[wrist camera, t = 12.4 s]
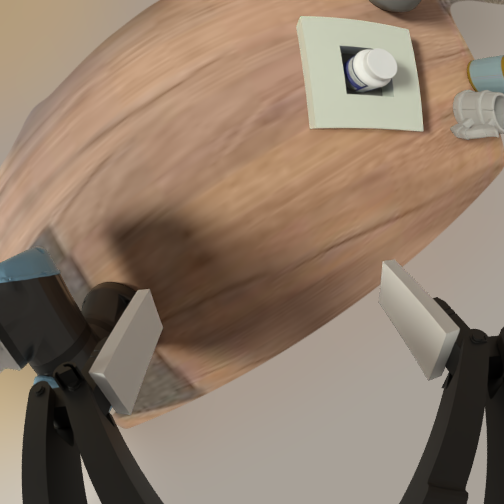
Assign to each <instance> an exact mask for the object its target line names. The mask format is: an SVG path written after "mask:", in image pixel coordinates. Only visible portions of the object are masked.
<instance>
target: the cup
mask: <svg viewBox="0 0 504 504" xmlns="http://www.w3.org/2000/svg"><path fill="white" fill-rule="evenodd" d="M369 1H370V2H371V3H373V4H374V5H375V6H377V7H379V8H381V9H384V10H387V11H394V12H408V11H410V10H412V9H414V8H415V7H416V6H417V5H418V4H419V2H420V1H421V0H369Z"/></svg>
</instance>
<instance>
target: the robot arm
mask: <svg viewBox="0 0 504 504" xmlns="http://www.w3.org/2000/svg"><path fill="white" fill-rule="evenodd" d="M60 273H61V272H60V270H58V269H57V267H56V265H55V263H54V262H53V260H52V258H51V256H50V254H49V252H48V251H47V250H46V249H45V248H43V247H40V246H37V247H33V248H31V249H29V250H26V251H24V252H22V253H20V254H18V255H16V256H13V257H11V258H9V259H7V260H5V261H3V262H1V263H0V373H1V372H2V371H3V370H4V369H13V370H19V371H20V370H21V369H22V368H23V367H24V366H25V365H26V364H27V363H29V364H30V366H31V367H32V368H33V369H34V371H35V372H36V373H37V375H38V376H37V377H35V379H34V385H33V386H32V388H31V389H30V392H29V397H28V404H27V410H26V418H25V425H24V435H23V436H24V437H23V449H22V497H23V504H87V499H86V493H85V488H84V481H83V474H82V467H81V459H80V454H81V457H82V459H83V462H84V465H85V467H86V470H87V472H88V474H89V477H90V479H91V481H92V484H93V486H94V488H95V490H96V492H97V495H98V497H99V499H100V501H101V503H102V504H164V503H163V502H162V501H161V499H160V498H159V497H158V495H157V494H156V492H155V491H154V490H153V488H152V486H151V485H150V483H149V482H148V480H147V479H146V477H145V475H144V474H143V472H142V471H141V469H140V467H139V466H138V464H137V462H136V461H135V459H134V457H133V456H132V454H131V452H130V450H129V448H128V447H127V445H126V443H125V441H124V439H123V437H122V435H121V433H120V432H119V429H118V427H117V425H116V423H115V421H114V419H113V417H112V415H111V414H110V413H109V412H110V411H111V408H112V407H113V408H114V410H115V411H116V413H121V414H129V415H131V413H132V410H133V407H134V404H135V401H136V398H137V395H138V393H139V390H140V387H141V384H142V382H143V379H144V376H145V373H146V371H147V368H148V365H149V363H150V360H151V357H152V355H153V352H154V350H155V347H156V344H157V342H158V339H159V337H160V334H161V332H162V329H163V326H162V323H161V321H160V318H159V315H158V312H157V309H156V307H155V304H154V301H153V298H152V295H151V292H150V289H144V290H138V291H137V292H135V291H133V290H132V289H130V288H128V287H126V286H124V285H121V284H118V283H112V282H106V283H101V284H98V285H96V286H95V287H94V288H93V289H92V290H91V291H90V292H89V293H88V294H87V296H86V297H85V299H84V302H83V305H82V311H80V309H79V307H78V306H77V304H76V302H75V301H74V299H73V297H72V295H71V294H70V292H69V290H68V288H67V286H66V284H65V282H64V280H63V278H62V276H61V274H60ZM379 304H380V305H381V307H382V308H383V309H384V311H385V312H386V314H387V315H388V317H389V318H390V320H391V321H392V323H393V324H394V326H395V328H396V329H397V331H398V332H399V334H400V335H401V337H402V338H403V340H404V341H405V343H406V344H407V346H408V348H409V350H410V351H411V353H412V354H413V356H414V358H415V359H416V360H417V363H418V364H419V366H420V367H421V369H422V371H423V373H424V374H425V376H426V378H427V379H428V380H432V379H434V378H437V377H439V376H441V375H442V373H443V371H444V369H445V366H446V368H447V369H448V371H449V373H448V376H447V378H446V380H445V382H444V384H443V386H442V388H444V391H443V395H442V398H441V402H440V406H439V409H438V412H437V416H436V419H435V422H434V425H433V428H432V431H431V434H430V437H429V440H428V442H427V445H426V448H425V450H424V453H423V455H422V457H421V460H420V462H419V465H418V467H417V469H416V472H415V474H414V476H413V478H412V480H411V482H410V484H409V486H408V488H407V490H406V492H405V494H404V496H403V498H402V500H401V502H400V503H399V504H467V500H468V492H466V490H465V488H466V484H467V481H468V478H469V475H470V471H471V468H472V464H473V461H474V457H475V453H476V450H477V445H478V441H479V436H480V432H481V426H482V421H483V415H484V408H485V411H486V425H487V476H486V489H485V498H484V504H504V327H503V328H502V329H501V332H500V334H499V336H491V337H488V336H487V335H486V333H484V332H483V331H481V330H478V329H470V328H469V327H468V326H467V325H466V324H465V323H464V322H463V321H462V319H461V318H460V317H459V316H458V315H457V314H455V312H454V311H453V310H452V309H451V307H450V306H448V304H447V303H446V302H445V301H443V300H441V299H439V298H438V297H436V298H432V297H431V296H430V295H429V294H428V293H427V292H426V291H425V290H424V289H423V288H422V287H421V286H420V285H419V284H418V283H417V282H416V281H415V279H413V277H411V275H410V274H409V273H408V272H406V271H405V269H403V267H402V266H401V265H400V264H399V263H397V262H396V261H395V260H387V261H383V264H382V276H381V286H380V295H379Z"/></svg>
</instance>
